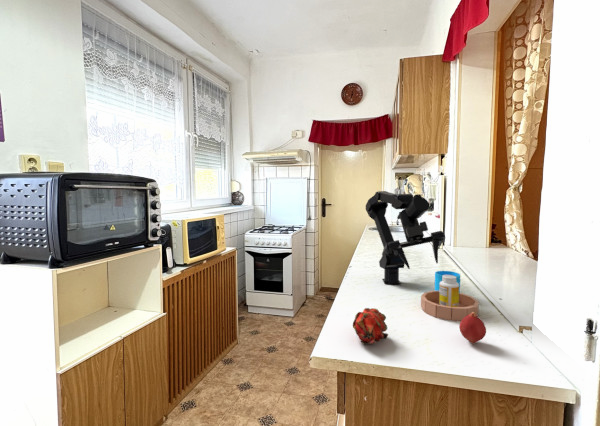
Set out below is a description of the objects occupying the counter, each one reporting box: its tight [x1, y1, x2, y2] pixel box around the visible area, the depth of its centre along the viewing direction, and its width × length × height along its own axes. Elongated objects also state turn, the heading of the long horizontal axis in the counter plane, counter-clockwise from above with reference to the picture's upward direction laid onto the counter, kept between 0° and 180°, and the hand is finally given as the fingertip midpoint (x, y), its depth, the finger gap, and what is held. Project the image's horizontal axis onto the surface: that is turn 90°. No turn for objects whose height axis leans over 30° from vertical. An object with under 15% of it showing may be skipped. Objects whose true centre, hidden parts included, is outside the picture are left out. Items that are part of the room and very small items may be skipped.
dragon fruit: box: [352, 307, 389, 346], centre depth 82 cm, size 8×8×12 cm
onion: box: [459, 312, 487, 345], centre depth 79 cm, size 6×6×8 cm
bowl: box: [420, 290, 480, 322], centre depth 100 cm, size 16×16×4 cm
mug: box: [434, 270, 461, 293], centre depth 115 cm, size 12×8×8 cm
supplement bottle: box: [439, 275, 459, 307], centre depth 100 cm, size 6×6×10 cm
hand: (423, 265), depth 108 cm, fingers open, 9 cm apart
